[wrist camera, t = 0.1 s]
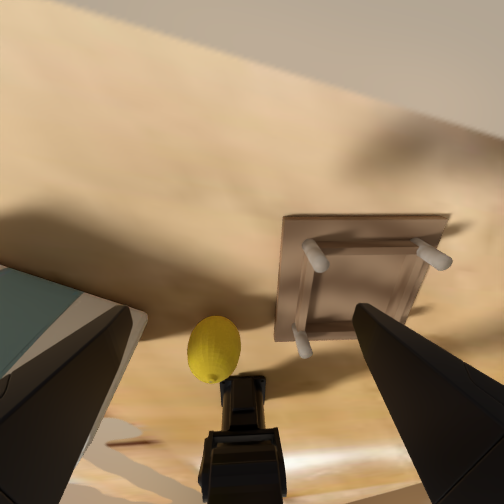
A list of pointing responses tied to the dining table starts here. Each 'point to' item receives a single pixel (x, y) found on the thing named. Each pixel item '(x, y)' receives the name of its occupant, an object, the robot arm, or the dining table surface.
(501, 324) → the dining table surface
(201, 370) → the lemon
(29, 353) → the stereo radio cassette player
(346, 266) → the cradle tray
